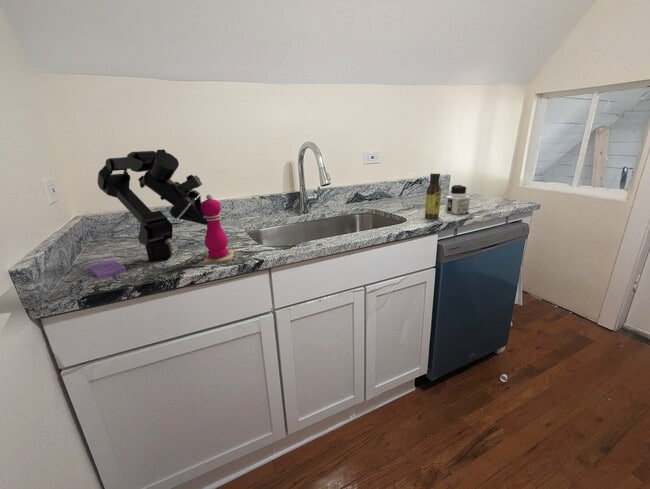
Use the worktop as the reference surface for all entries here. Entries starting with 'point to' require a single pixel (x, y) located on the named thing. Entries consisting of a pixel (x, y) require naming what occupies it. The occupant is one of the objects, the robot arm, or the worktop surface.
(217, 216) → the pepper mill
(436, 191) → the sauce bottle
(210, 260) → the dock
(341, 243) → the worktop surface
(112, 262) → the sponges
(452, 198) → the container
